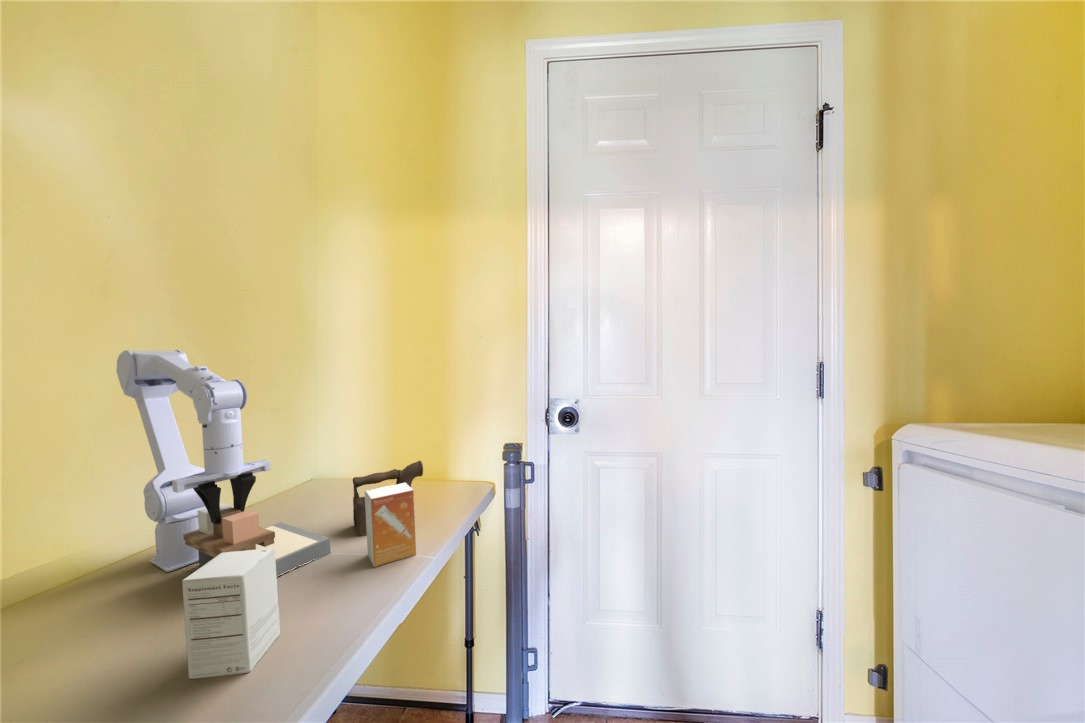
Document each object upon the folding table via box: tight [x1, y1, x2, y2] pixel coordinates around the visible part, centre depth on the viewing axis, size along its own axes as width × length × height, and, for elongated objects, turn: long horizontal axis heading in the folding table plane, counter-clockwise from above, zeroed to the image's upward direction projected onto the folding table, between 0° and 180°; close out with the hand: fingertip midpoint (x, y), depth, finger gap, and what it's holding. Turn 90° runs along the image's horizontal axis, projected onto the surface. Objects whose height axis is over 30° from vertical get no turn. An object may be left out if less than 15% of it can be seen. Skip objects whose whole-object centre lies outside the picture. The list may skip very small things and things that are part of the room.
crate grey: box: [198, 502, 233, 534], centre depth 78 cm, size 4×4×4 cm
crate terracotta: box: [222, 509, 260, 545], centre depth 72 cm, size 4×4×4 cm
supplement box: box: [181, 548, 281, 680], centre depth 54 cm, size 7×7×13 cm
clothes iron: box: [352, 460, 424, 537], centre depth 96 cm, size 8×16×13 cm, turn 121°
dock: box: [198, 522, 331, 576], centre depth 80 cm, size 19×15×3 cm
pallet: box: [183, 507, 275, 558], centre depth 75 cm, size 17×8×6 cm, turn 59°
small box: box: [364, 483, 417, 568], centre depth 80 cm, size 8×6×13 cm
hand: (227, 518), depth 75 cm, fingers closed on pallet, 3 cm apart
